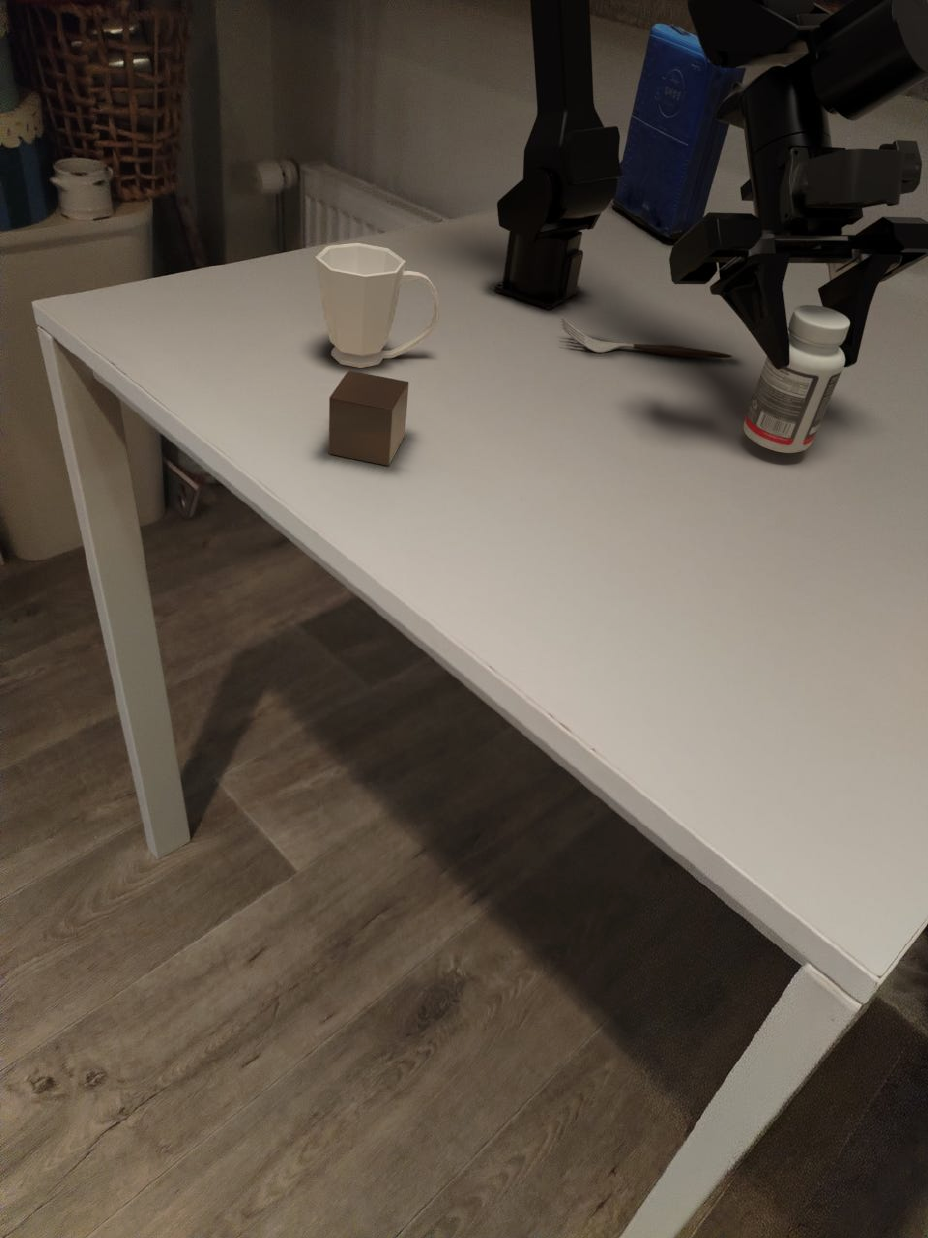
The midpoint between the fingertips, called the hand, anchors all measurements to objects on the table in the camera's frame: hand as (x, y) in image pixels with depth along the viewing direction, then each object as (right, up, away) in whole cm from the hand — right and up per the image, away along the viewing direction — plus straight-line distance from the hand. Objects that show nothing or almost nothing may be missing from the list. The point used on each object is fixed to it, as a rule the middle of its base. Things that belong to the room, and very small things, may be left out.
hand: (816, 366), depth 65 cm
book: (-3, +30, +45) cm, 54 cm away
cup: (-33, +4, +11) cm, 35 cm away
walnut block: (-32, -6, 0) cm, 33 cm away
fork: (-9, +6, +17) cm, 20 cm away
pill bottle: (-1, -4, +5) cm, 7 cm away
